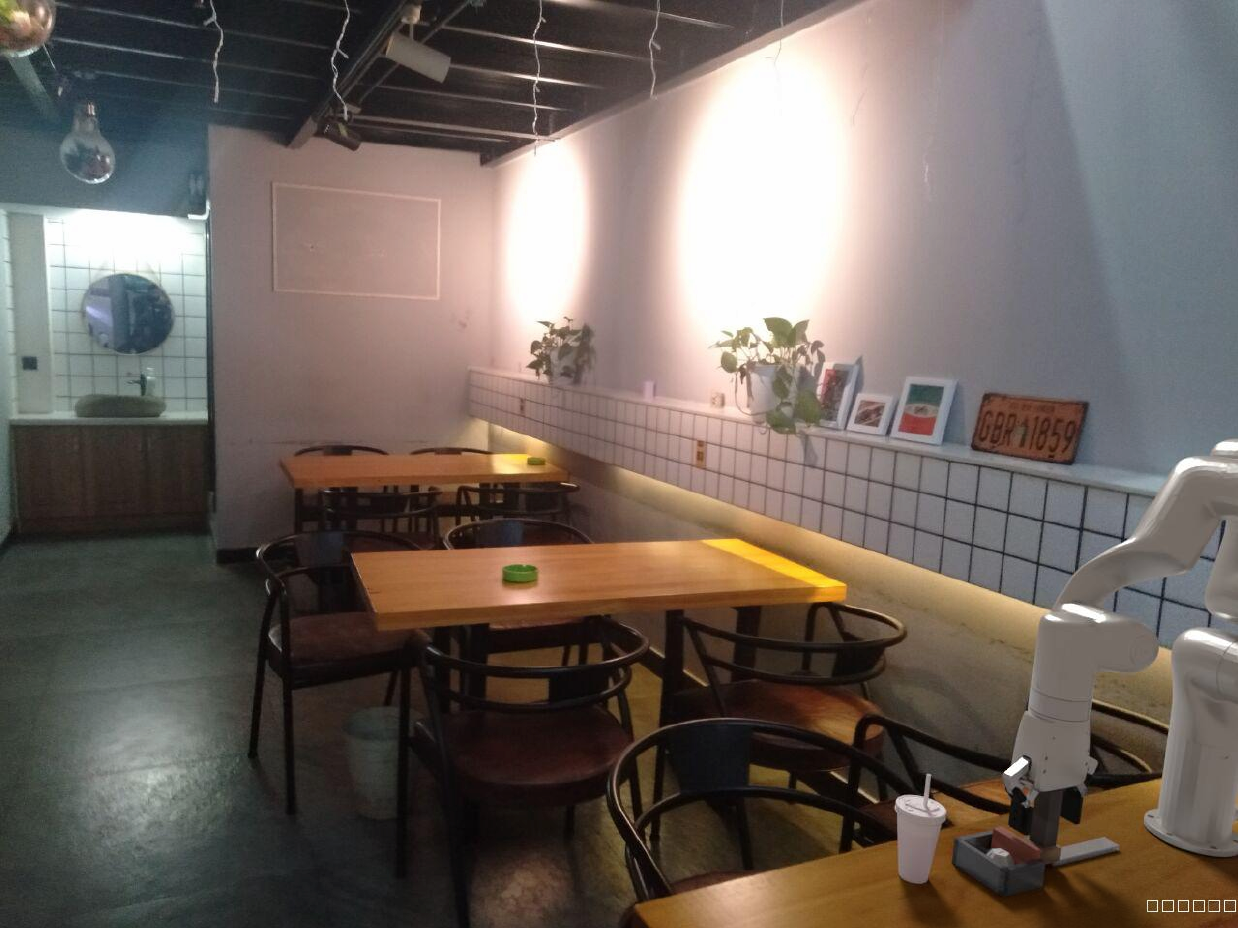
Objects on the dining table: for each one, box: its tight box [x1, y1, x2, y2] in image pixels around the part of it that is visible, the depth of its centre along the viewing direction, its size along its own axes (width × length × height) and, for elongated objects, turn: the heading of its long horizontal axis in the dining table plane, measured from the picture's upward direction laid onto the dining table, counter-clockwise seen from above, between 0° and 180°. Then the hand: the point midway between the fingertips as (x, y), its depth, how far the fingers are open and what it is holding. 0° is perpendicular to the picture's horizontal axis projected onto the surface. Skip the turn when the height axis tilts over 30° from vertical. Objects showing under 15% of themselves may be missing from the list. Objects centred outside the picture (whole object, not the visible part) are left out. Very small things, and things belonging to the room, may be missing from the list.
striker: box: [991, 789, 1063, 866], centre depth 124 cm, size 8×6×10 cm
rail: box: [1049, 836, 1120, 867], centre depth 129 cm, size 14×2×1 cm, turn 116°
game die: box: [986, 848, 1014, 867], centre depth 123 cm, size 4×4×3 cm
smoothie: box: [894, 773, 947, 885], centre depth 120 cm, size 6×6×14 cm
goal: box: [951, 829, 1046, 898], centre depth 122 cm, size 7×9×4 cm
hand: (1044, 825), depth 125 cm, fingers open, 9 cm apart
